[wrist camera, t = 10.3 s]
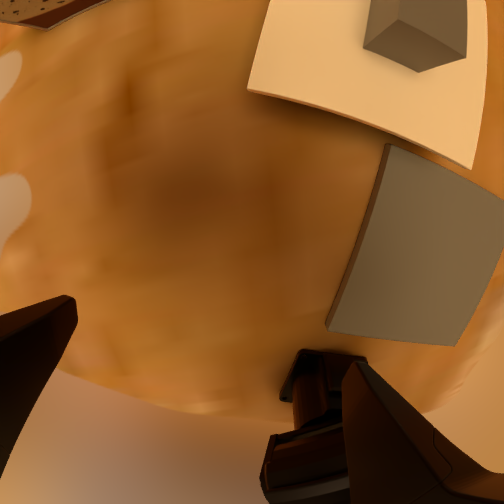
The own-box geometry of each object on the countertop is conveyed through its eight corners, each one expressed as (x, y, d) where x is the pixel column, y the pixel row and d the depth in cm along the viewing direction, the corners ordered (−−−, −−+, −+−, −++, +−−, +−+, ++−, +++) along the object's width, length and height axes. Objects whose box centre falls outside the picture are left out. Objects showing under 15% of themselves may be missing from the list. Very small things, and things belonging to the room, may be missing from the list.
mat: (450, 340, 23) (454, 346, 22) (325, 323, 22) (327, 331, 21) (509, 205, 17) (516, 208, 16) (385, 143, 17) (391, 144, 16)
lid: (462, 168, 12) (521, 184, 8) (247, 91, 12) (238, 65, 7) (478, 4, 8) (523, -14, 3) (296, -76, 7) (304, -125, 3)
